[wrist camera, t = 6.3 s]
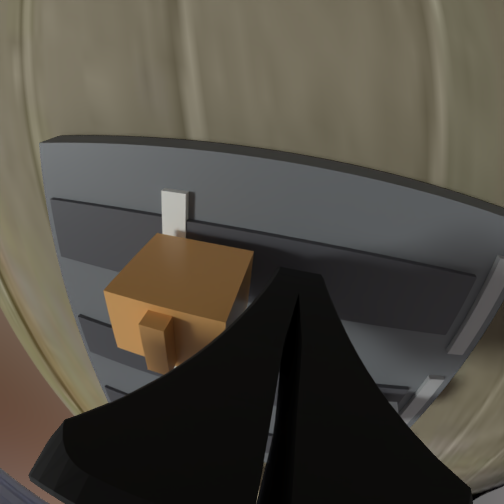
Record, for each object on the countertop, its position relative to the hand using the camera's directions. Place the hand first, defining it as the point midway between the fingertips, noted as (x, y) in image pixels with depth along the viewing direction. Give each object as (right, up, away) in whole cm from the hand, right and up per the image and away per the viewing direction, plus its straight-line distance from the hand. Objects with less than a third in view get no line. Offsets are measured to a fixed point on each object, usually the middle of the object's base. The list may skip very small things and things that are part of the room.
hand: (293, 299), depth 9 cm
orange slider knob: (-3, +1, +1) cm, 3 cm away
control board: (-1, -4, +5) cm, 7 cm away
